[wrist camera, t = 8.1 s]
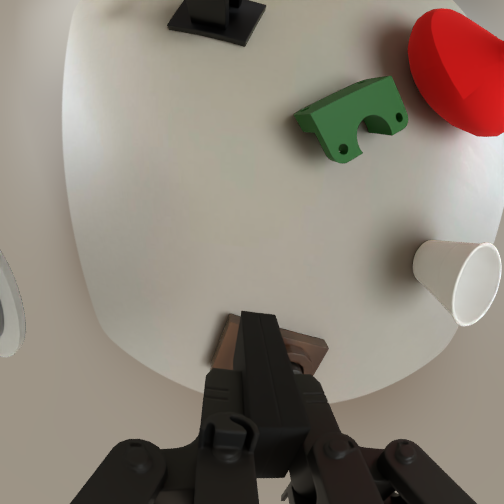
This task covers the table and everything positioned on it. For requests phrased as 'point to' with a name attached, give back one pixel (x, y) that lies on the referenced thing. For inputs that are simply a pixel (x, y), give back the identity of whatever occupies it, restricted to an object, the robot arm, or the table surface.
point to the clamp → (354, 116)
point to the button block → (297, 345)
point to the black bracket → (218, 19)
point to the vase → (459, 71)
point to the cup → (459, 276)
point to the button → (296, 368)
